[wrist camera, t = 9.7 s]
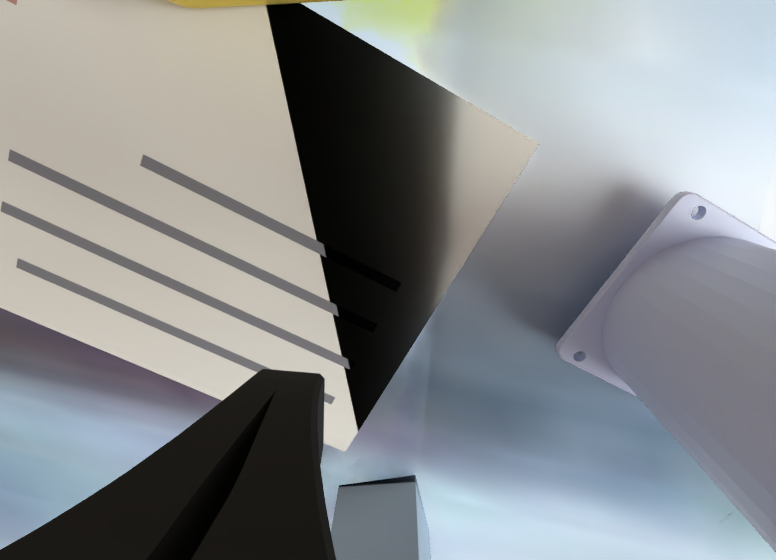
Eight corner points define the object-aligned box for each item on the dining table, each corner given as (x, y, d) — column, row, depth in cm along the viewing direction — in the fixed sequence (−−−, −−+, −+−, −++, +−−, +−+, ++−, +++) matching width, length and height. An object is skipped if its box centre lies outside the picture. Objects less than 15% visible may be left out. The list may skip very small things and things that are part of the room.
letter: (537, 143, 16) (539, 144, 15) (345, 449, 22) (345, 452, 21) (-104, -234, 12) (-113, -240, 12) (-120, 254, 18) (-126, 255, 18)
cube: (415, 474, 22) (420, 591, 17) (428, 529, 24) (437, 652, 18) (338, 485, 23) (319, 602, 17) (357, 537, 24) (344, 660, 19)
